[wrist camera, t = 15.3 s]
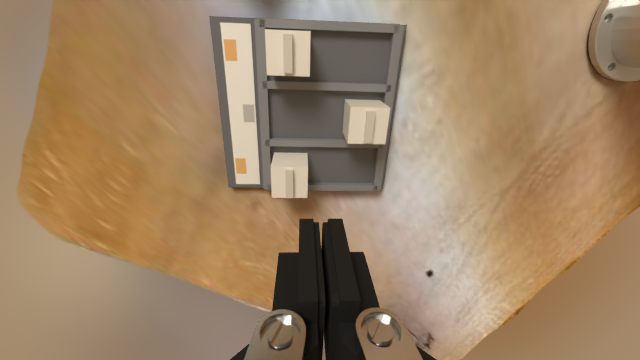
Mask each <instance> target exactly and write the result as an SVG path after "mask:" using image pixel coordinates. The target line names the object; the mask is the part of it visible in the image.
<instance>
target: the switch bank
mask: <svg viewBox="0 0 640 360" xmlns="http://www.w3.org/2000/svg"><path fill="white" fill-rule="evenodd" d="M210 25H211V34H212V43H213V52H214V61H215V70H216V79H217V87H218V96H219V105H220V114H221V123H222V132H223V141H224V150H225V158H226V167H227V176H228V185H229V187H263V189H264V190H271V163H272V159H273V155H274V152H277V153H307V155H308V191H377V190H381V188H383V184H384V177H385V171H386V164H387V157H388V150H389V143H390V136H391V129H392V123H393V116H394V109H395V102H396V95H397V88H398V81H399V74H400V68H401V61H402V54H403V47H404V40H405V33H406V26H407V25H400V24H383V23H361V22H338V21H316V20H294V19H272V18H259V19H258V18H236V17H214V16H210ZM265 29H272V30H296V31H311V39H310V77H305V76H274V75H267V68H266V44H265ZM345 99H358V100H380V101H382V102H383V103H384V104H386V105H387V106H388V107H390V114H389V121H388V129H387V136H386V143H385V144H348V143H347V141H346V139H345V137H344V134H343V117H344V103H345Z"/></svg>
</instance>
